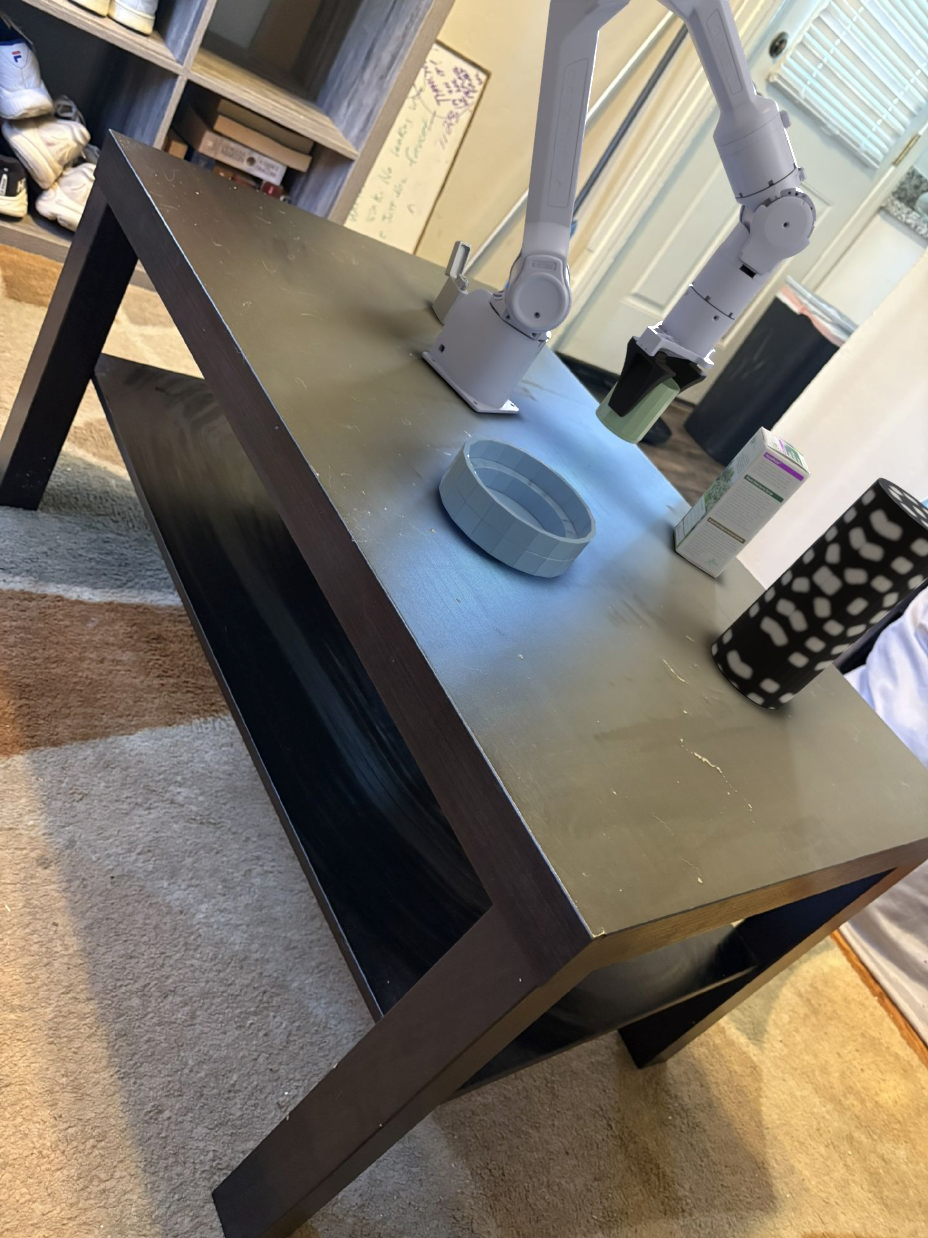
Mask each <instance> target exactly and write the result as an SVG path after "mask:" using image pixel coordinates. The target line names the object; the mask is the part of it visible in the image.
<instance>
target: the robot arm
mask: <svg viewBox="0 0 928 1238" xmlns="http://www.w3.org/2000/svg"><path fill="white" fill-rule="evenodd" d="M656 1H657V2H658V3H660V4H661V5H662V6H663V7H665V8H666V9H667V10H669V12H671V13H672V14H673V15H675V16H676V17H678V18H679V19H680V20H682V21H683V23H684V24H685V26H686V29H687V31H688V34H689V37H690V39H691V41H692V44H693V46H694V49H695V51H696V54H697V56H698V59H699V61H700V64H701V67H702V69H703V72H704V74H705V76H706V80H707V81H708V84H709V87H710V89H711V91H712V94H713V97H714V99H715V102H716V104H717V107H718V109H719V117H718V121H717V123H716V126H715V128H714V130H713V134H712V140H713V143H714V145H715V147H716V150H717V152H718V156H719V157H720V161H721V163H722V166H723V168H724V171H725V175H726V177H727V180H728V182H729V185H730V188H731V191H732V193H733V196H734V199H735V202H736V203H737V204H739V205H740V209H739V214H738V220H739V221H737V223H736V225H735V226H734V227H733V229H732V230H731V231H730V233H729V234H728V235H727V237H726V238H725V239H724V241H723V242H721V243H720V244H719V246H718V247H717V249H715V251H714V253H712V255H711V256H710V258H709V259H708V261H707V262H706V263H705V265H704V266H703V267H702V269H701V270H700V271H699V273H698V274H697V275H696V276H695V278H694V279H693V280H692V282H691V283H690V284H689V286H688V287H687V288H686V290H684V293H683V294H681V296H680V297H679V300H677V301H676V303H675V304H674V306H673V307H672V308H671V310H670V311H669V312H668V314H667V315H666V317H665V318H664V319H663V320H660V321H659V322H657V324H655V325H654V326H647V327H646V328H645V330H644V331H643V332H642V334H641V335H640V336H636V335H632V336H631V337H630V339H629V340H628V342H627V344H626V351H625V357H624V362H623V366H622V369H621V372H620V375H619V377H618V380H617V381H618V382H617V381H616V383H617V384H616V383H615V384H616V386H615V388H614V391H613V393H612V395H611V397H610V400H609V402H608V406H609V407H610V408H611V409H612V410H613V411H614V412H615V413H616V414H618V415H619V416H620V417H624V416H625V415H627V414H628V413H629V412H630V411H632V410H633V409H634V408H635V407H636V406H637V405H638V403H639V402H640V401H641V400H642V399H643V398H644V397H645V396H646V395H647V394H648V393H650V392H651V391H652V390H653V389H654V388H656V387H657V386H658V385H660V384H661V383H663V382H664V381H666V380H668V379H669V378H672V379H673V380H674V381H675V382H676V383H677V384H678V386H679V388H680V392H679V393H678V394H677V396H678V395H680V394H681V393H683V392H684V391H686V390H688V389H690V388H692V387H694V386H696V385H697V384H701V383H702V382H703V381H705V379H706V378H707V377H708V375H707V374H706V373H705V371H704V370H710V371H711V369H712V368H713V367H714V366H715V363H714V362H713V361H712V360H711V358H712V357H713V356H714V355H715V353H716V350H715V349H714V348H715V347H716V346H717V344H718V343H719V342H720V340H721V339H722V338H723V337H724V336H725V334H726V333H727V332H728V330H729V329H730V328H731V327H732V325H733V324H734V323H735V322H736V321H737V319H738V318H739V316H740V315H741V314H742V313H743V312H744V310H745V309H746V308H747V307H748V306H749V304H750V303H751V302H752V301H753V299H754V298H755V297H756V295H757V294H758V292H760V291H761V289H762V288H763V287H764V285H765V284H766V283H767V282H768V280H769V278H770V277H771V276H772V274H773V273H774V272H775V271H776V270H777V268H778V267H779V266H780V265H781V263H782V262H783V261H784V260H786V259H790V258H792V257H794V256H797V255H798V254H800V253H802V252H803V251H804V250H805V249H806V248H807V247H808V246H809V245H810V244H811V241H810V238H811V236H812V234H813V233H814V231H815V228H816V227H815V222H817V211H816V206H815V204H814V202H813V199H811V197H810V196H809V195H808V194H806V193H805V192H804V191H802V189H801V187H800V185H801V184H802V182H804V181H805V180H807V178H808V176H807V173H806V170H805V168H804V167H802V166H798V164H797V161H796V158H795V155H794V152H793V149H792V146H791V143H790V140H789V136H788V134H787V133H788V132H787V131H786V130H787V129H788V128H790V127H791V126H792V124H793V123H792V121H791V117H790V114H789V112H788V111H787V110H784V109H782V110H780V109H779V106H778V103H777V101H776V100H774V99H772V98H769V97H766V96H762V95H759V94H757V91H756V88H755V85H754V82H753V79H752V75H751V72H750V71H751V70H750V69H749V65H748V61H747V58H746V55H745V52H744V47H743V44H742V41H741V38H740V34H739V31H738V27H737V23H736V21H735V17H734V14H733V10H732V7H731V3H730V1H729V0H656ZM630 2H631V0H549V7H548V17H547V23H546V24H547V26H546V35H545V43H544V49H543V50H544V51H543V58H542V59H543V60H542V70H541V77H540V85H539V86H540V87H539V93H538V103H537V104H538V105H537V111H536V121H535V129H534V138H533V139H534V140H533V148H532V155H531V156H532V157H531V165H530V173H529V184H528V191H527V200H526V207H525V208H526V210H525V218H524V227H523V234H522V235H523V236H522V241H521V242H522V243H521V248H520V250H519V252H518V255H517V256H516V258H515V259H514V260H513V262H512V264H511V266H510V270H509V276H508V282H509V283H508V287H505V288H503V289H501V290H498V291H494V292H493V293H492V292H491V291H489V290H488V289H485V288H478V289H477V288H476V289H474V290H472V291H470V292H468V294H467V295H466V296H465V297H464V298H462V299H461V301H460V302H459V303H458V304H457V305H456V307H455V308H454V310H453V311H452V313H451V315H450V316H449V318H448V320H447V321H446V323H445V324H443V326H442V328H441V329H440V332H439V333H438V335H437V337H436V338H435V340H434V342H433V343H432V345H431V347H430V349H429V350H428V351H423V352H422V354H421V357H422V358H423V359H424V360H425V361H426V362H427V363H428V364H429V366H430V367H432V368H433V370H435V371H436V372H437V373H438V374H439V376H441V377H442V379H444V380H445V381H446V382H447V383H448V384H449V385H450V386H451V388H453V390H454V391H455V392H456V393H457V394H458V395H459V396H460V397H461V399H463V400H464V401H465V402H466V403H467V404H468V405H469V407H471V408H472V409H473V410H474V411H475V412H478V413H490V414H491V413H492V414H493V413H494V414H515V415H516V414H518V413H519V411H520V409H519V408H518V407H517V406H516V405H515V404H514V403H513V402H512V401H511V400H510V397H511V396H512V394H513V393H514V392H515V390H516V388H517V387H518V385H519V384H520V383H521V381H522V380H523V378H524V377H525V375H526V374H527V372H528V371H529V369H530V368H531V366H532V365H533V363H534V362H535V360H536V359H537V358H538V356H539V355H540V353H541V351H542V350H543V349H544V347H545V345H546V344H547V342H548V341H549V340H550V338H552V332H551V331H554V330H555V329H557V328H558V327H559V326H561V325H562V324H563V323H564V321H565V320H566V319H567V317H568V316H569V313H570V311H571V308H572V302H573V295H572V289H571V286H570V284H571V283H570V281H571V272H570V271H571V270H570V267H569V264H568V262H569V261H568V259H569V253H570V252H569V251H570V242H571V241H570V240H571V230H572V222H573V217H574V210H575V209H574V208H575V201H576V195H577V188H578V181H579V173H580V167H581V166H580V165H581V160H582V154H583V146H584V138H585V132H586V125H587V119H588V112H589V103H590V97H591V89H592V82H593V77H594V68H595V63H596V56H597V55H596V54H597V49H598V48H597V47H598V42H599V34H600V31H601V29H602V28H603V27H604V26H605V25H606V24H607V23H609V21H611V20H612V19H613V18H614V17H615V16H616V15H617V14H619V13H620V12H621V11H622V10H623V9H624V8H625V7H627V6H628V5H629V4H630ZM698 365H699V366H700V367H701V368H700V367H699V366H698ZM702 369H704V370H702Z"/></svg>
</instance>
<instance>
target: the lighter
mask: <svg viewBox="0 0 928 1238" xmlns="http://www.w3.org/2000/svg"><path fill="white" fill-rule="evenodd" d="M472 250H473V246H472V245H471V244H470V243H467V242H465V241H463V240H456V241H455V242H454V244H453V247H452V250H451V254H450V256H449V259H448V263H447V265H446V268H445V272H444V275H445V276H446V277H448V278H447V279H446V281H445V283H444V285H443V287H442V288H441V290H440V292H439V293H438V295H437V297H436V299H435V301H434V302H433V303H432V306H431V308H432V309H433V311H434V313H435V315H436V317H437V319H438V320H439V323H441V324H442V325H445V323H446V321H447V320H448V318H449V316H450V315H451V313H452V311H453V310H454V308H455V307H456V305H457V304H458V303H459V302H460V301H461V299H462V298H464V297H465V296H466V295H467V294H468V293H469V291H468V288H469V287H470V284H471V283H470V281H469V280H468V278H467V277H466V276H465V275H464V274H465V271H466V267H467V265H468V262H469V259H470V256H471V253H472Z"/></svg>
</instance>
